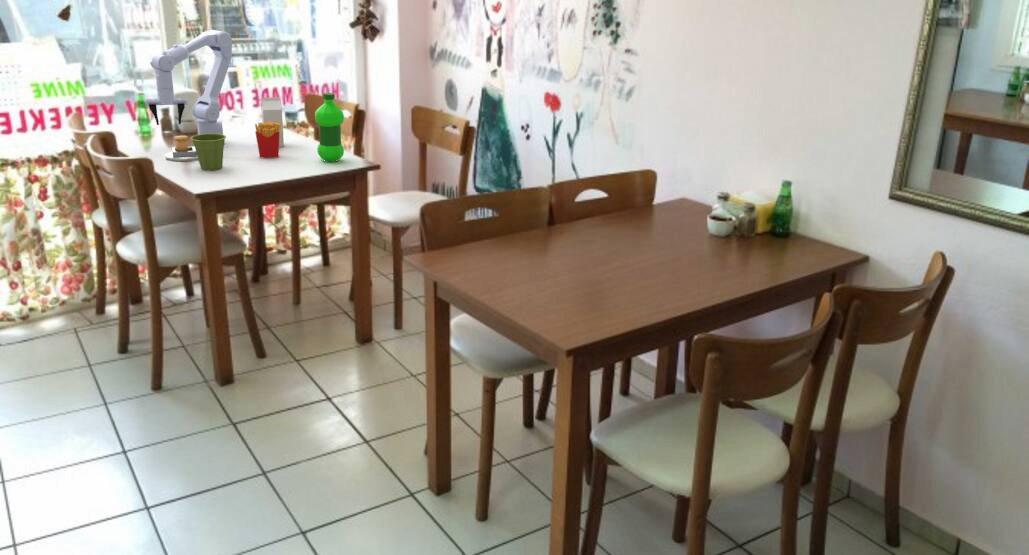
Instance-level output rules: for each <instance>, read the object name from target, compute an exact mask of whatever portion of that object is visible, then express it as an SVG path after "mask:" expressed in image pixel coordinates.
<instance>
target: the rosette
mask: <svg viewBox="0 0 1029 555" xmlns="http://www.w3.org/2000/svg"><path fill="white" fill-rule="evenodd" d="M171 151H172V152H170V151H169V152H167V153H166V154H165V159H166V160H167V161H171V162H177V161H179V162H182V163H183V162H184V161H185V163H186V162H194V161H199V159H198V156H197V152H196V149H195V146H194V145H193V146H188V151H178V152H176V146H175V147H171Z"/></svg>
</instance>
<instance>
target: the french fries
mask: <svg viewBox="0 0 1029 555" xmlns="http://www.w3.org/2000/svg"><path fill="white" fill-rule="evenodd" d="M254 126H255V127H254V128H255V131H254V132H255V136H256V143H257V149H258V154H259V158H260V157H276V158H279V156H280V155H279V153H280V152H279V150H280V147H279V133H280V132H279V130H280V126H281V125H280V123H276V122H273V124H272V122H267V123H262V122H258V123H254Z"/></svg>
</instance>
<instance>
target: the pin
mask: <svg viewBox="0 0 1029 555" xmlns="http://www.w3.org/2000/svg"><path fill="white" fill-rule="evenodd" d="M188 139H189V136H187V135H175V136H173V140H174V141H175V147H176V152H178V151H188V147H189V146H188Z"/></svg>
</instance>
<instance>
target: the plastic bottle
mask: <svg viewBox="0 0 1029 555" xmlns="http://www.w3.org/2000/svg"><path fill="white" fill-rule="evenodd" d="M335 98H336V96H335V93H334V92H323V93H322V99H323V100H324V103H323V104H321V105H320V106H319V107H318V108H317V109H316V110H315V112H314V118H315V122H316V123H317V124H318V133H319V135H318V136H319V143H318V146H317V148H316V149H317V155H318V156H319V157H320V159H322V160H323V161H324V160H325V161H336V160H338V161H340V159H342V157H343V156H344V155H345V154H344V153H345V149H344V147H343V145H342V132H341V131H342V129H341V125H342V124H343V123H344V120H345V116H344V112H343V110H342V109H340V108H339V106H337V105H336V104H335V103H334V100H336V99H335ZM325 161H324V162H325Z"/></svg>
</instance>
